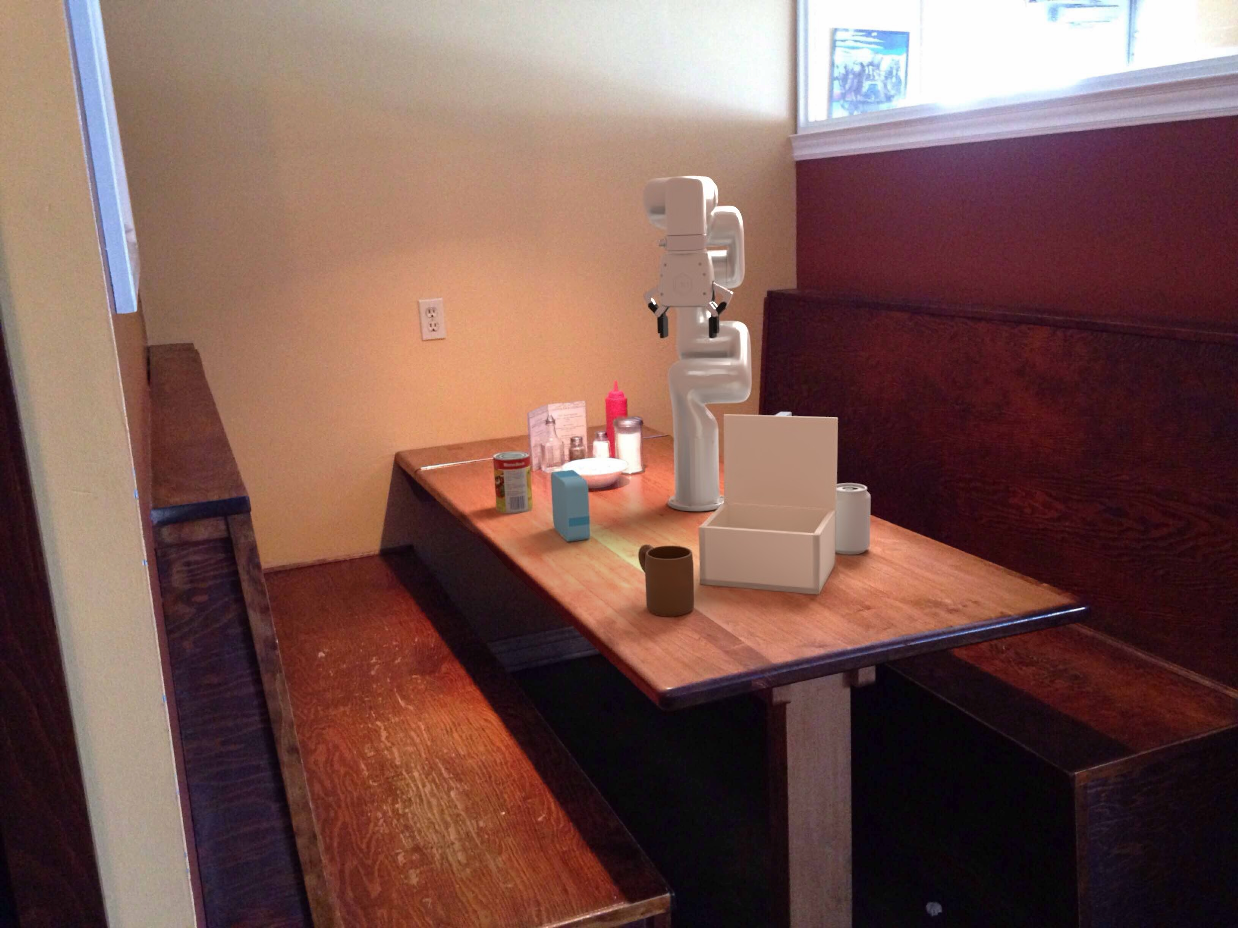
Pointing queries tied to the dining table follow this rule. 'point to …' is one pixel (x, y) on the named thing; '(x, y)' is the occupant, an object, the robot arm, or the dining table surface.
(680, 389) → the robot arm
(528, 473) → the canned food
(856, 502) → the can
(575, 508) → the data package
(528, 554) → the dining table surface
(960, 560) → the dining table surface
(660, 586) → the mug
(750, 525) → the mailer box
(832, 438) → the flap
